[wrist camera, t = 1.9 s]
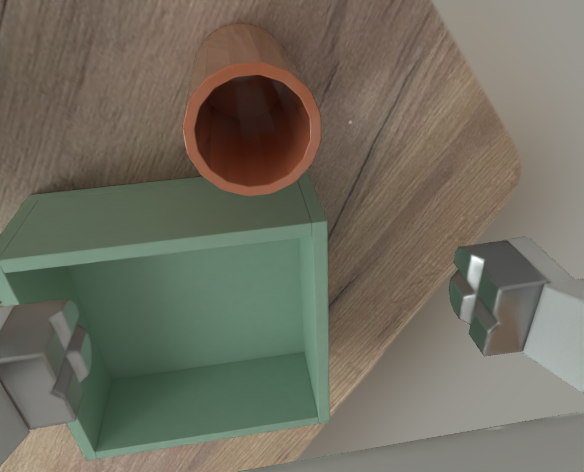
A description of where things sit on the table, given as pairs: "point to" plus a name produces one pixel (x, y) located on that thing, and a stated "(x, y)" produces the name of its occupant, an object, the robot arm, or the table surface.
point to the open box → (182, 307)
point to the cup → (249, 113)
